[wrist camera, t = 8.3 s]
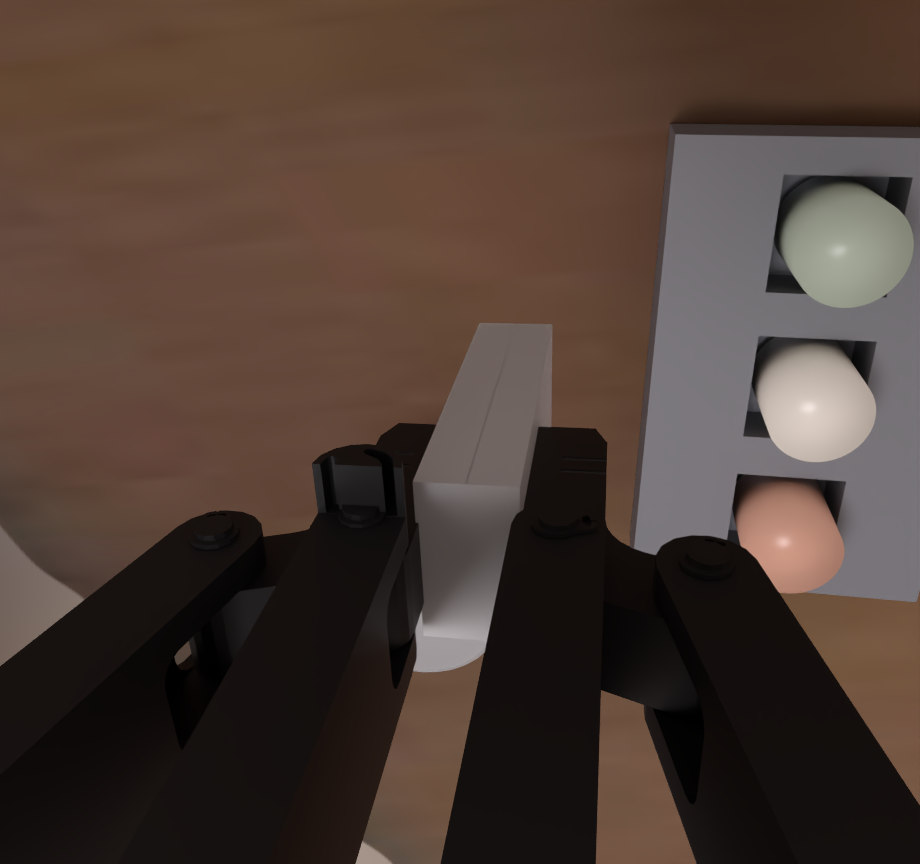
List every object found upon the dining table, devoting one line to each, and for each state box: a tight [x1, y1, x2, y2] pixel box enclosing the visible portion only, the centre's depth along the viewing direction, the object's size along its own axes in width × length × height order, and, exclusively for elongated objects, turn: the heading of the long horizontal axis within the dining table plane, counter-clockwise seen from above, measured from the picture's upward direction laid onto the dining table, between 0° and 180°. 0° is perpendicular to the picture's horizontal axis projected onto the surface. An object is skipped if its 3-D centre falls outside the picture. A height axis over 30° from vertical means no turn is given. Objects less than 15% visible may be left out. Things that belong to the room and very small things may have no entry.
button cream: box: [751, 337, 876, 462], centre depth 39 cm, size 4×4×5 cm
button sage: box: [774, 175, 914, 308], centre depth 36 cm, size 4×4×5 cm
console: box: [630, 123, 920, 602], centre depth 41 cm, size 22×14×4 cm, turn 1°
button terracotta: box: [732, 474, 844, 593], centre depth 42 cm, size 4×4×5 cm
